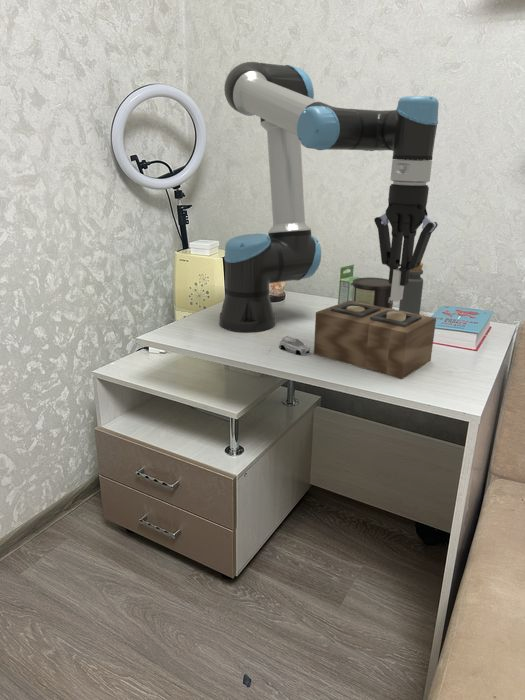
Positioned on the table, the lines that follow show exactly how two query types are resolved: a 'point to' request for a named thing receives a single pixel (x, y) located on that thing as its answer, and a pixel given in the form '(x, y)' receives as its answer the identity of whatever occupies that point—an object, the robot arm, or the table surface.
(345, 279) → the ink box
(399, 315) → the dowel
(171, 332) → the table surface
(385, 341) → the socket block
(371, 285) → the coffee can
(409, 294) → the bottle
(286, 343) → the toy car
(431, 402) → the table surface
